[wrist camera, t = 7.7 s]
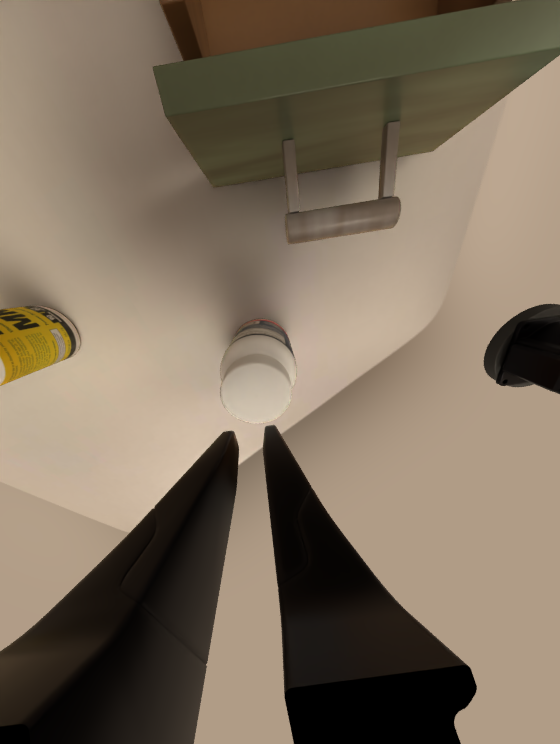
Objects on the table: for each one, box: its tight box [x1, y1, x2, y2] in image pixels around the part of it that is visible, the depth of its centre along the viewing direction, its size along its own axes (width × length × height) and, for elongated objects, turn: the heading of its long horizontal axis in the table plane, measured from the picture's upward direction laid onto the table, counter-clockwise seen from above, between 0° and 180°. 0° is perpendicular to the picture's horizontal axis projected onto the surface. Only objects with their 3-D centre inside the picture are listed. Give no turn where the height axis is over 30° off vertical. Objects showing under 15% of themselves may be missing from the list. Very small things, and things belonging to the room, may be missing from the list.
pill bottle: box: [220, 319, 297, 424], centre depth 15 cm, size 5×5×9 cm
